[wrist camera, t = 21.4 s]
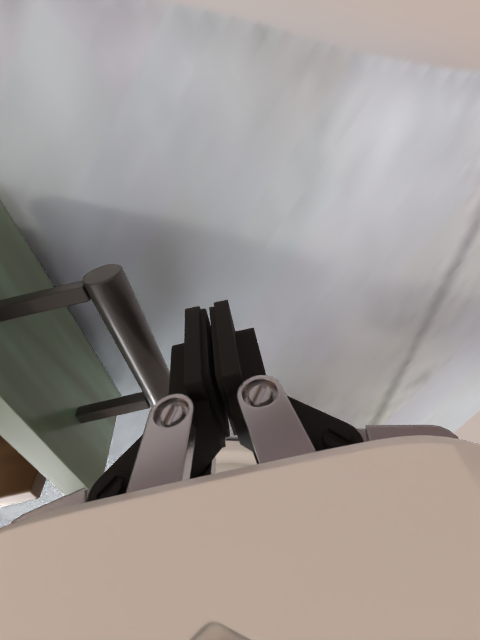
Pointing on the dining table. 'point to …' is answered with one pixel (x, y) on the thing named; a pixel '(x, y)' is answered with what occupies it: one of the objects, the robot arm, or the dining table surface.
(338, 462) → the robot arm
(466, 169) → the dining table surface
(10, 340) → the drawer
